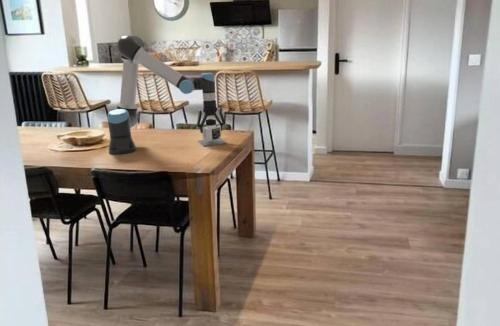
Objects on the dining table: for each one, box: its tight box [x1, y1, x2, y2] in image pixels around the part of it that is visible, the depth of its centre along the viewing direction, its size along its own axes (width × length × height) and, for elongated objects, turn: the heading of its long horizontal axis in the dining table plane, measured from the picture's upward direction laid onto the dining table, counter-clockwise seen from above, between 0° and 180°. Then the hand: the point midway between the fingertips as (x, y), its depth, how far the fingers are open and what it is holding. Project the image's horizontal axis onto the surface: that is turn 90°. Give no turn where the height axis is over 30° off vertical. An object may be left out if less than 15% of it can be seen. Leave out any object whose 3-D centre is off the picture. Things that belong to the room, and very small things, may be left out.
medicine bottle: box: [203, 118, 221, 141], centre depth 269 cm, size 7×7×12 cm
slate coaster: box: [197, 137, 227, 148], centre depth 271 cm, size 14×14×1 cm
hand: (211, 137), depth 270 cm, fingers closed on medicine bottle, 10 cm apart
